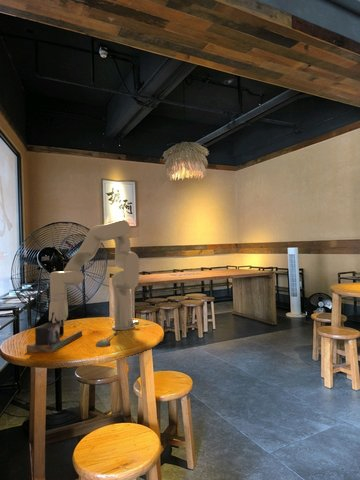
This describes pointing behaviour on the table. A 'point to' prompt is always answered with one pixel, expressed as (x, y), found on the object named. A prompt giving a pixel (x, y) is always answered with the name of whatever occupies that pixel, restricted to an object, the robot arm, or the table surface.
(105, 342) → the soupspoon
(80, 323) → the table surface
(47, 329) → the small box
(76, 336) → the chute
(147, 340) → the table surface
